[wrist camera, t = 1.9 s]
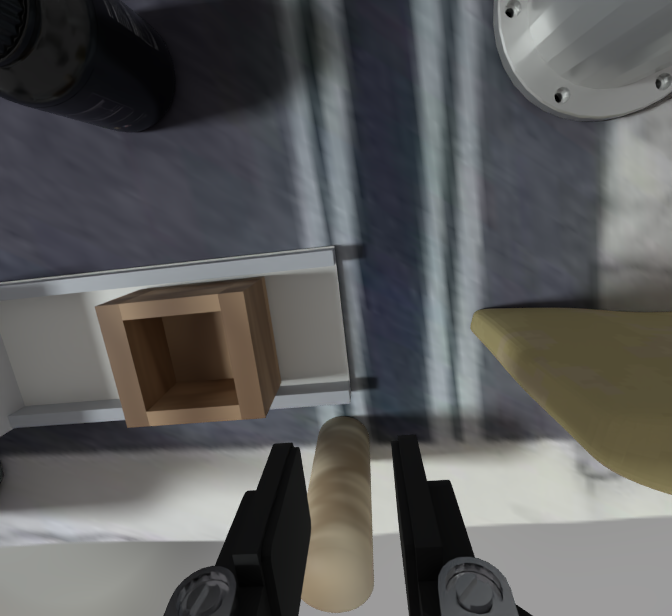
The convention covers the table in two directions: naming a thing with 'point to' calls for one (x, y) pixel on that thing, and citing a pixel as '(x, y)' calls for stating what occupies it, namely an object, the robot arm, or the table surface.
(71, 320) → the track
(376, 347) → the table surface
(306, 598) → the dowel
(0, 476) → the bottle
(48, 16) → the supplement bottle
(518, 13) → the robot arm
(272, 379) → the brown wooden open box
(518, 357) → the cheese
